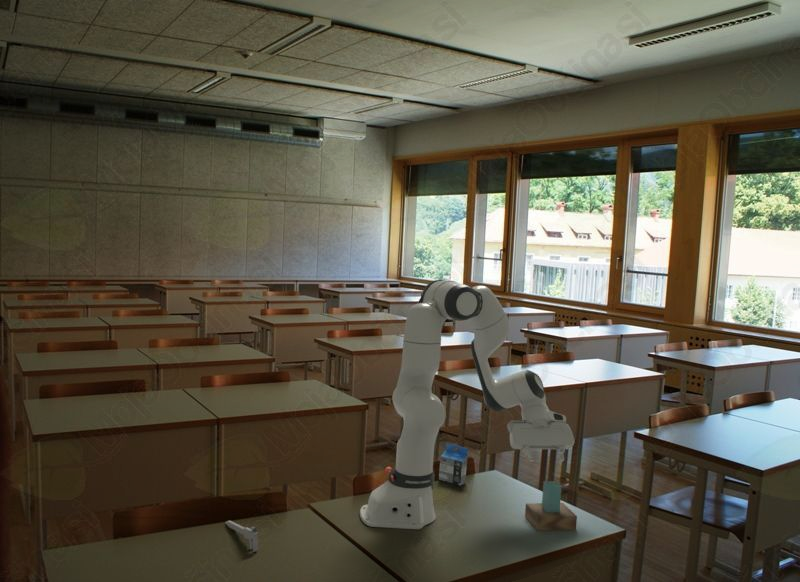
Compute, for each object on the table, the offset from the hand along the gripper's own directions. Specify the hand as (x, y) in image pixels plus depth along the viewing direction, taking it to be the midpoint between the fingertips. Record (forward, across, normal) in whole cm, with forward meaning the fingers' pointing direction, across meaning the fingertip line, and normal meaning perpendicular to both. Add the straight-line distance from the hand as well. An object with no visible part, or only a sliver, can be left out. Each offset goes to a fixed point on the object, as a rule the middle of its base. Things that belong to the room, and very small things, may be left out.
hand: (546, 460), depth 207 cm
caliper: (+20, -90, +6) cm, 92 cm away
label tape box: (-9, -21, +33) cm, 40 cm away
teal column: (+13, 0, +6) cm, 14 cm away
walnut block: (+16, 0, +8) cm, 18 cm away
